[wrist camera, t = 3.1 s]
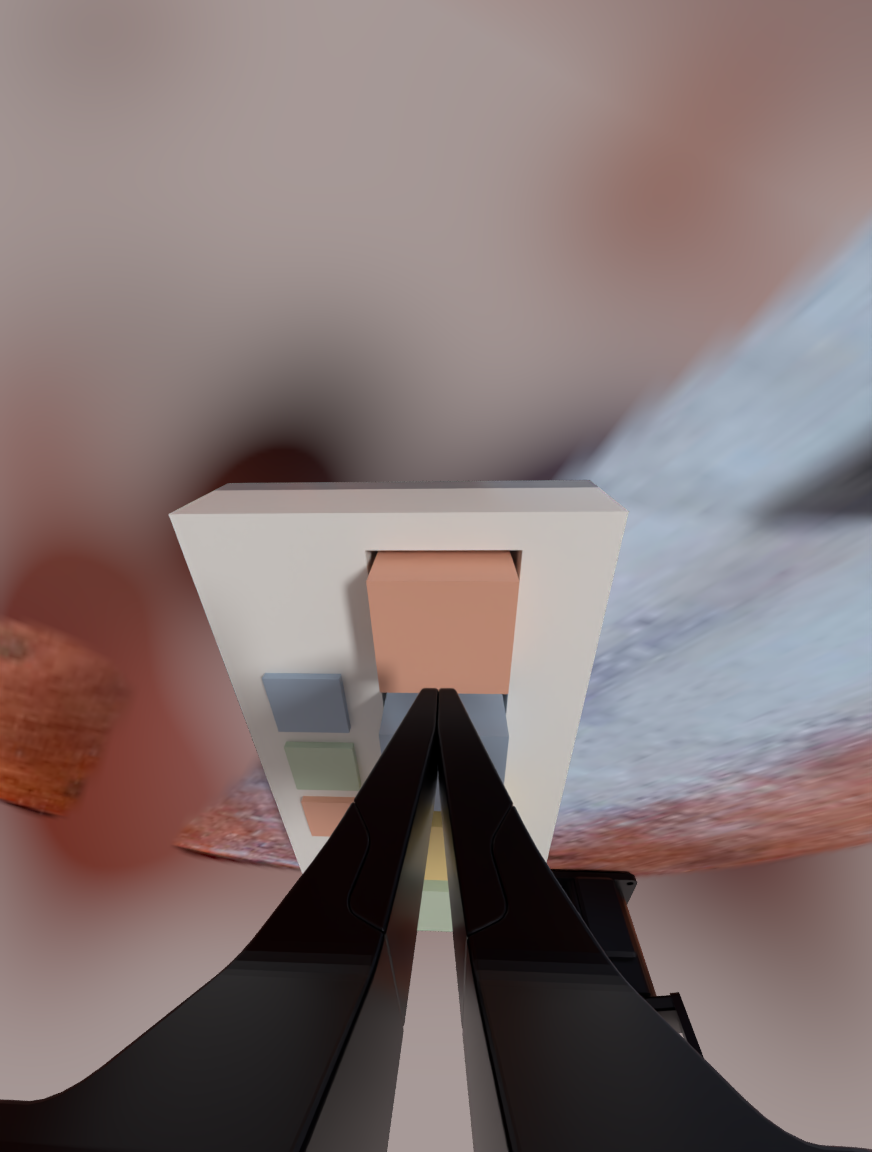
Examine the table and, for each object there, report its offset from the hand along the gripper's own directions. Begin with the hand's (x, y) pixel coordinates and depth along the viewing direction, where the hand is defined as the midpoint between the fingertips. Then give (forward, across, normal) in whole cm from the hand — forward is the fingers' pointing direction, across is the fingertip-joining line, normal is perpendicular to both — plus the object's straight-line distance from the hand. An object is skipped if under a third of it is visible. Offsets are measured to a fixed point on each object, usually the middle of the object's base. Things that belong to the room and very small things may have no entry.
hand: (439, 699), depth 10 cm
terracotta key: (+6, 0, 0) cm, 6 cm away
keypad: (+8, +2, +8) cm, 11 cm away
